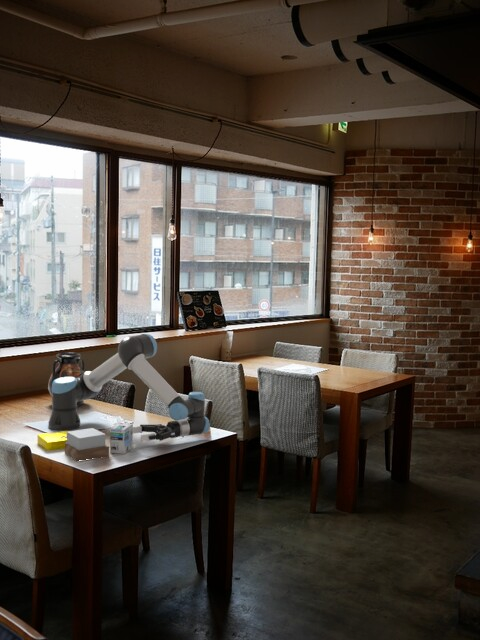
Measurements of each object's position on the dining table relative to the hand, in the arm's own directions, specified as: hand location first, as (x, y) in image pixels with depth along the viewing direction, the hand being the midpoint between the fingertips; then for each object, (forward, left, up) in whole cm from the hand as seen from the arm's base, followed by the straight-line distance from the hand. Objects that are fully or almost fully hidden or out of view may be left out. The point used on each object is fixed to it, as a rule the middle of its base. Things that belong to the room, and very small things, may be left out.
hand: (134, 434), depth 315 cm
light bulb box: (-1, -6, -7) cm, 9 cm away
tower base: (-1, -21, -7) cm, 22 cm away
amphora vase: (-96, +4, -7) cm, 96 cm away
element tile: (-22, -27, -7) cm, 35 cm away
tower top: (-1, -22, -2) cm, 22 cm away
